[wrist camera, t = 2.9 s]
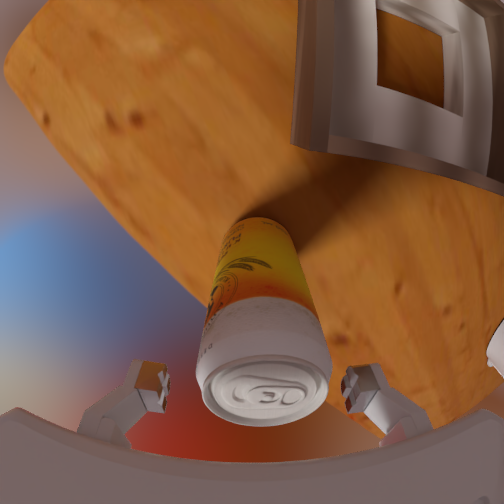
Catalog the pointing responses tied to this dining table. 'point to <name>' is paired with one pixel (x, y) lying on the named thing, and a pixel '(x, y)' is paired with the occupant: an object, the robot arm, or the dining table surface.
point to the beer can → (261, 332)
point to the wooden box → (399, 104)
